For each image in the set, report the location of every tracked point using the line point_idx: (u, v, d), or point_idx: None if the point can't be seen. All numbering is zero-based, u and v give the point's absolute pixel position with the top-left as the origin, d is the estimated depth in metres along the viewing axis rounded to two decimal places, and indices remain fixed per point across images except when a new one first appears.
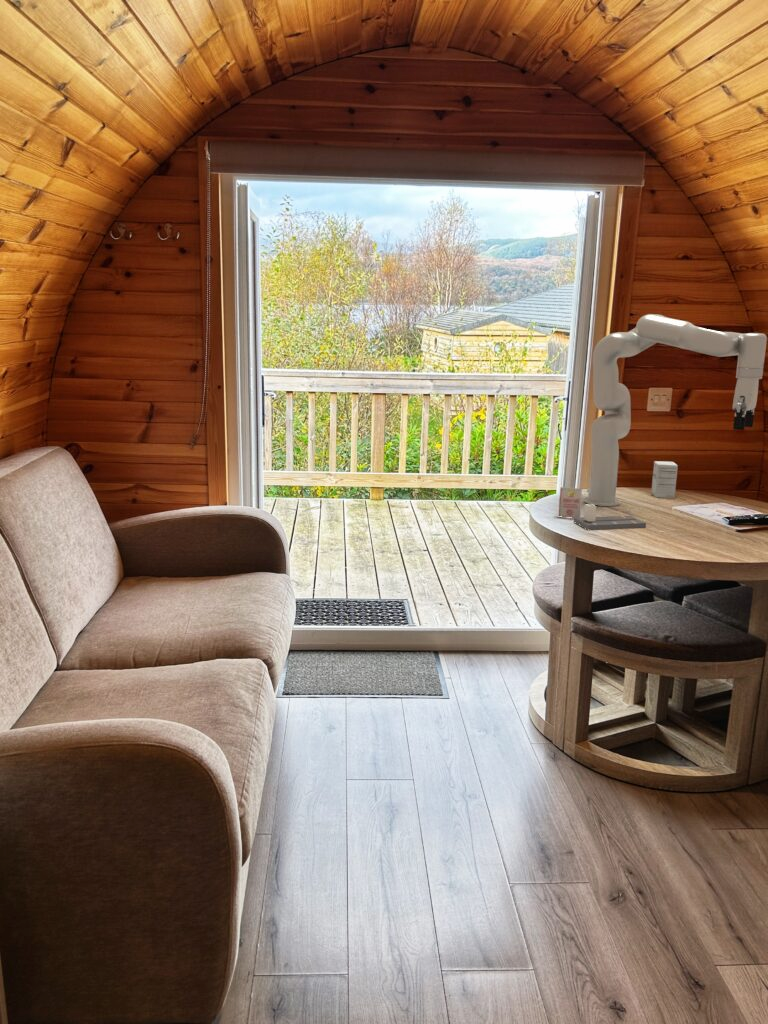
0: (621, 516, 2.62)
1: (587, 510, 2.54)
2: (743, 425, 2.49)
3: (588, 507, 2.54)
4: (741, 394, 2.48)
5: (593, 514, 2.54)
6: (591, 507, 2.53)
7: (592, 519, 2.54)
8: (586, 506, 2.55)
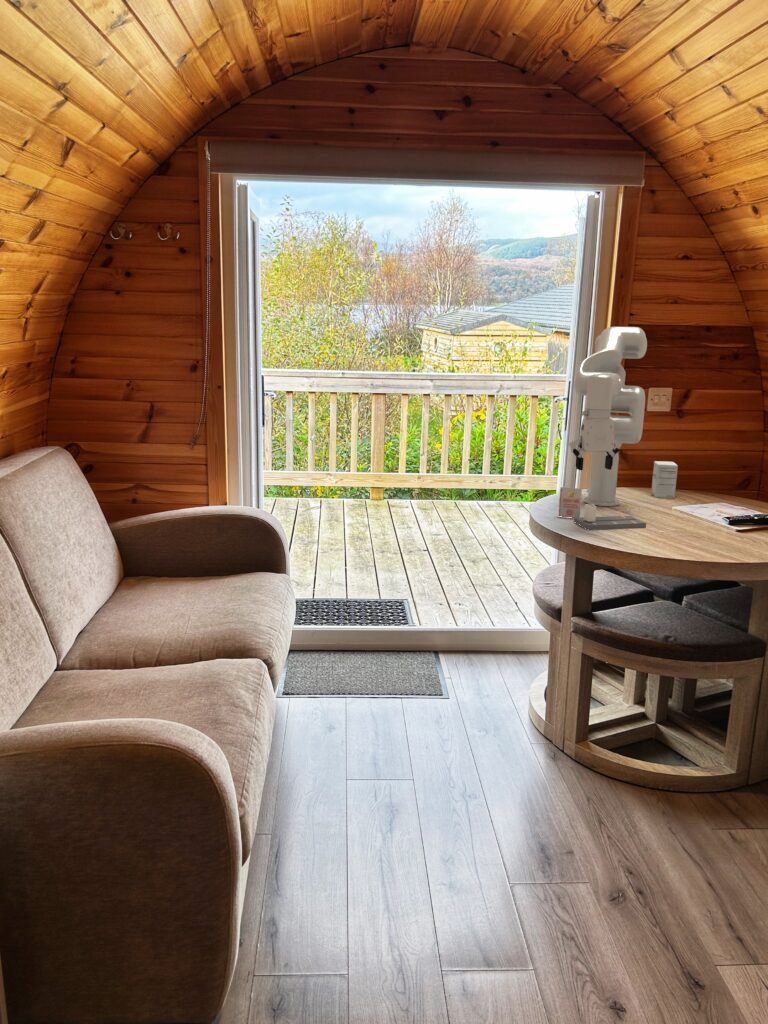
0: (621, 516, 2.62)
1: (587, 510, 2.54)
2: None
3: (588, 507, 2.54)
4: None
5: (593, 514, 2.54)
6: (591, 507, 2.53)
7: (592, 519, 2.54)
8: (586, 506, 2.55)
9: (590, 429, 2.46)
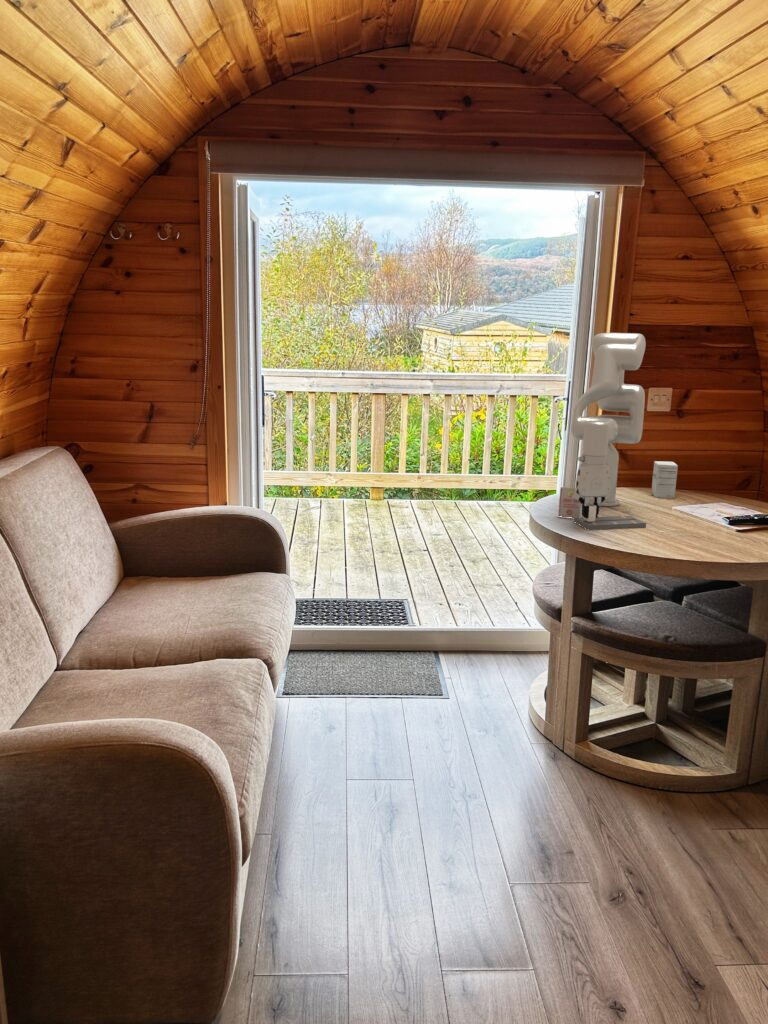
0: (621, 516, 2.62)
1: None
2: None
3: None
4: None
5: (593, 514, 2.54)
6: (591, 507, 2.53)
7: (592, 519, 2.54)
8: None
9: (587, 475, 2.49)
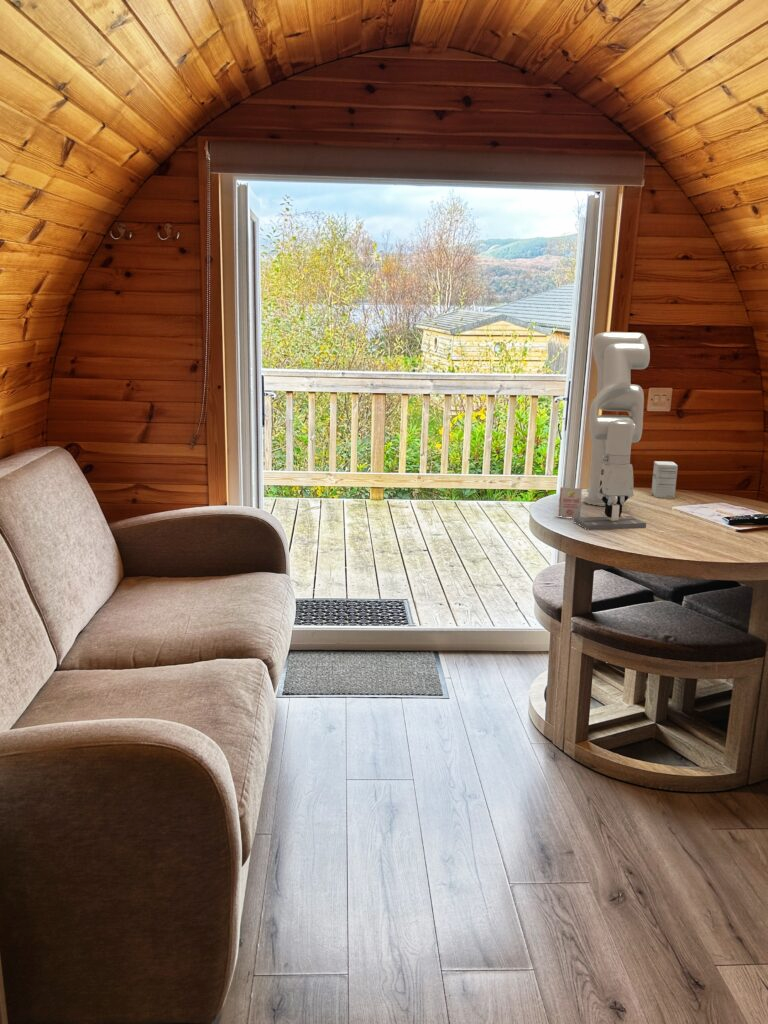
0: (621, 516, 2.62)
1: None
2: None
3: None
4: None
5: (616, 513, 2.56)
6: (614, 506, 2.55)
7: (615, 518, 2.56)
8: None
9: (610, 474, 2.51)
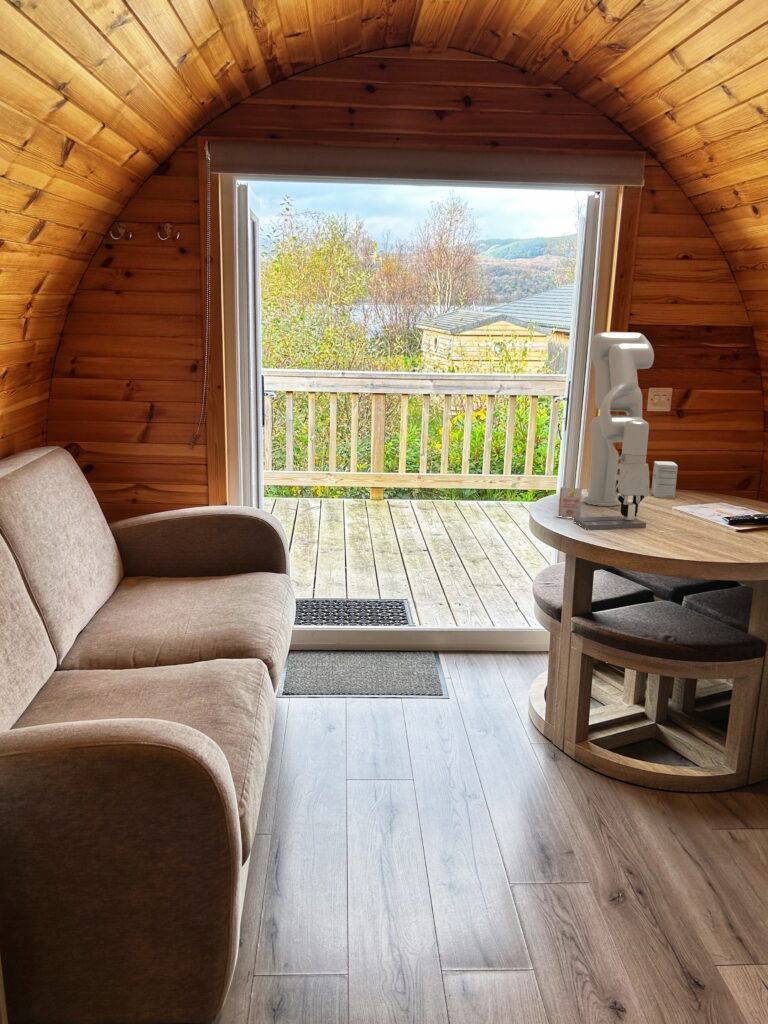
0: (621, 516, 2.62)
1: None
2: None
3: None
4: None
5: (632, 513, 2.57)
6: (630, 505, 2.56)
7: (631, 517, 2.57)
8: None
9: (626, 474, 2.52)
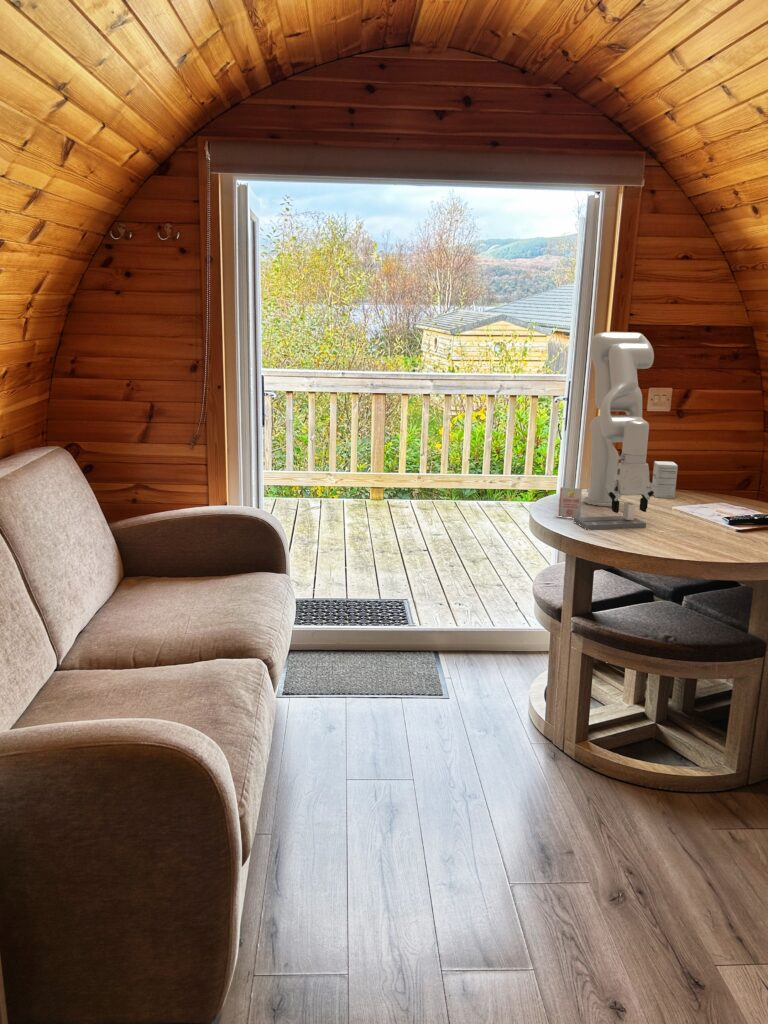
0: (621, 516, 2.62)
1: (626, 508, 2.57)
2: None
3: (627, 506, 2.57)
4: None
5: (632, 513, 2.57)
6: (630, 505, 2.56)
7: (631, 517, 2.57)
8: (625, 505, 2.58)
9: (627, 473, 2.52)
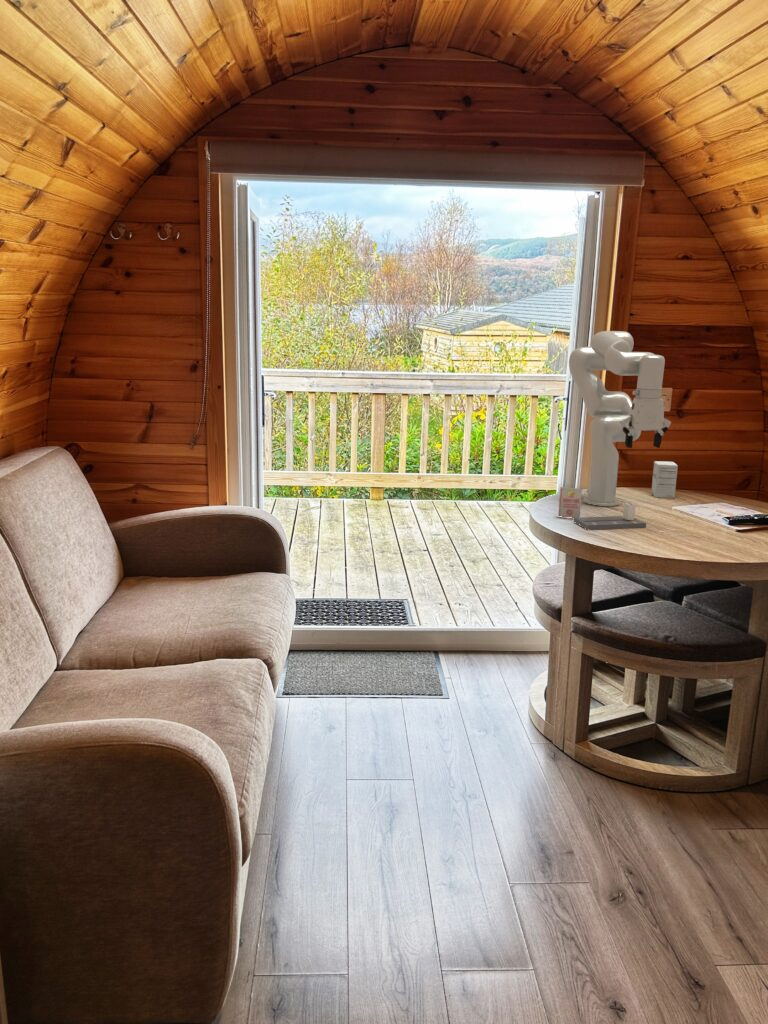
0: (621, 516, 2.62)
1: (626, 508, 2.57)
2: None
3: (627, 506, 2.57)
4: None
5: (632, 513, 2.57)
6: (630, 505, 2.56)
7: (631, 517, 2.57)
8: (625, 505, 2.58)
9: (641, 408, 2.53)
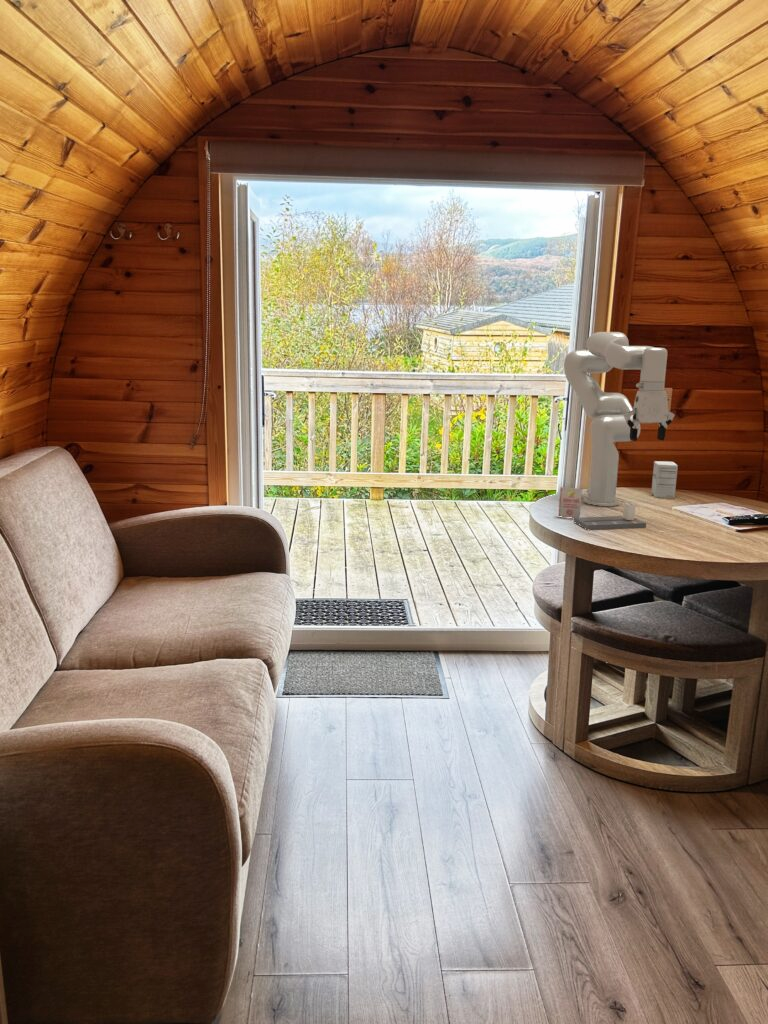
0: (621, 516, 2.62)
1: (626, 508, 2.57)
2: None
3: (627, 506, 2.57)
4: None
5: (632, 513, 2.57)
6: (630, 505, 2.56)
7: (631, 517, 2.57)
8: (625, 505, 2.58)
9: (645, 400, 2.54)
